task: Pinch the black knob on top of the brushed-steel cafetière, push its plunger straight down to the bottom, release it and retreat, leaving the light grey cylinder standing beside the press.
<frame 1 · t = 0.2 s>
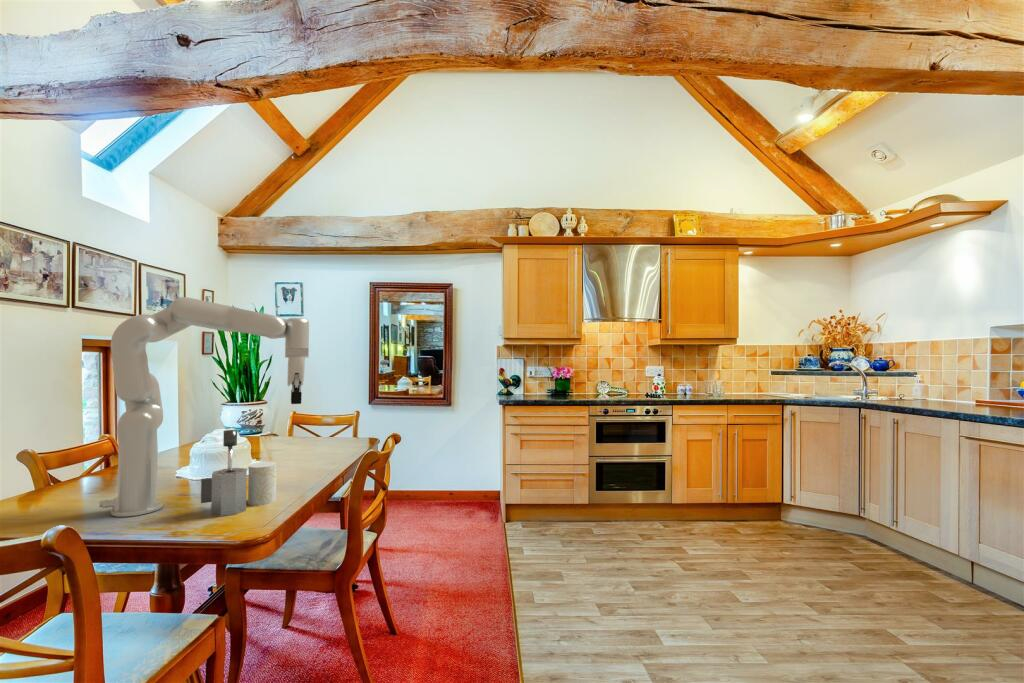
hand: (296, 402, 169), 31 cm above the table, fingers open, 9 cm apart
octagonal faceted vessel: (229, 510, 148), on the table
plunger: (230, 458, 148), point 16 cm above the table, slide at 0.0 cm
light grey cylinder: (262, 502, 157), on the table
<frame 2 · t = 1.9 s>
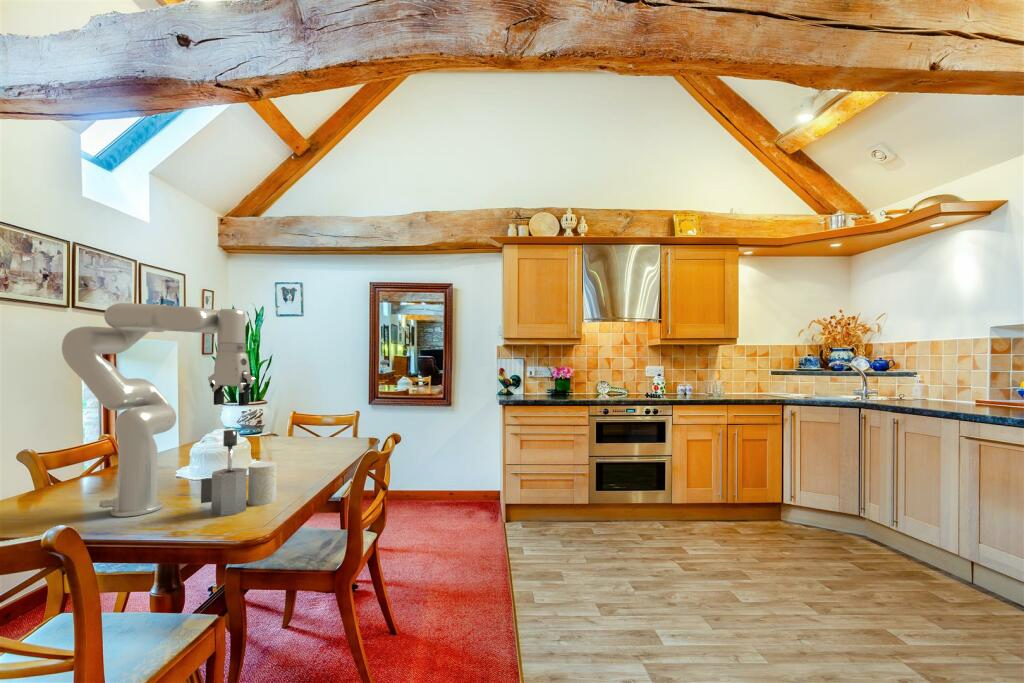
hand: (231, 404, 149), 32 cm above the table, fingers open, 9 cm apart
nothing on the table moved.
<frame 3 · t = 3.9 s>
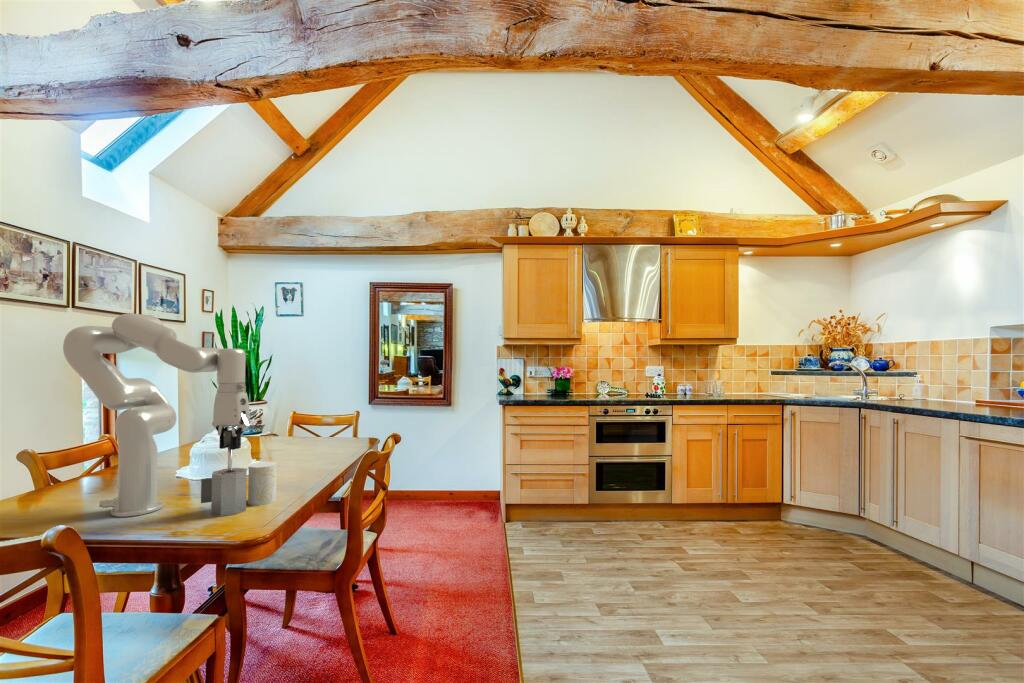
hand: (230, 447, 148), 19 cm above the table, fingers closed on plunger, 3 cm apart
plunger: (229, 458, 148), point 16 cm above the table, slide at 0.0 cm, touching gripper
everything else where it was.
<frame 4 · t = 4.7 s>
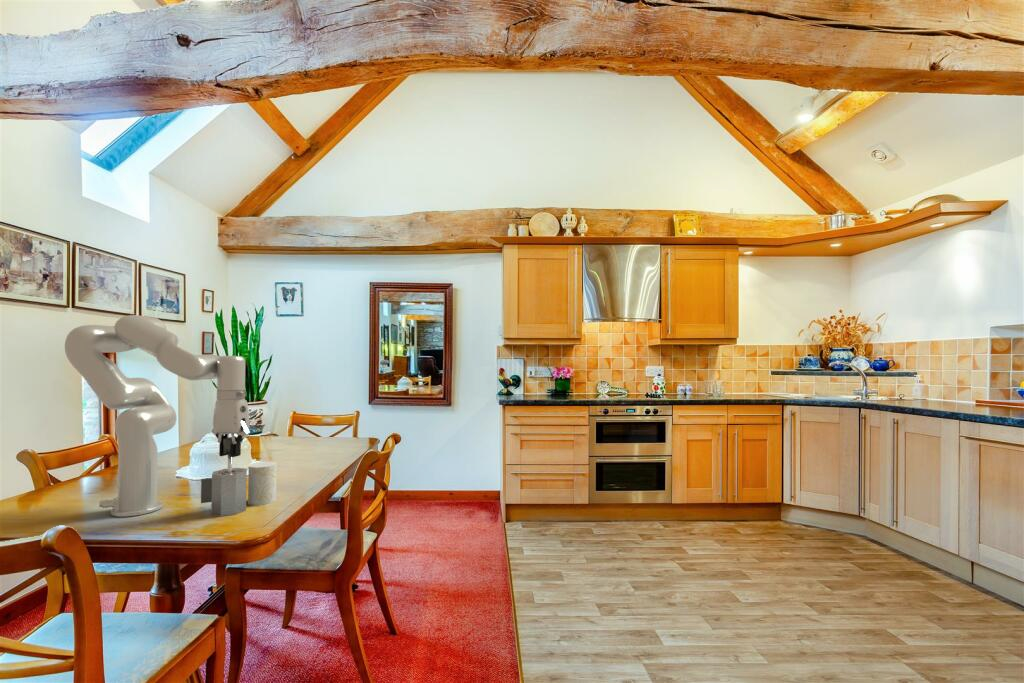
hand: (230, 455, 148), 17 cm above the table, fingers closed on plunger, 3 cm apart
plunger: (229, 465, 148), point 14 cm above the table, slide at 2.3 cm, touching gripper
everything else where it was.
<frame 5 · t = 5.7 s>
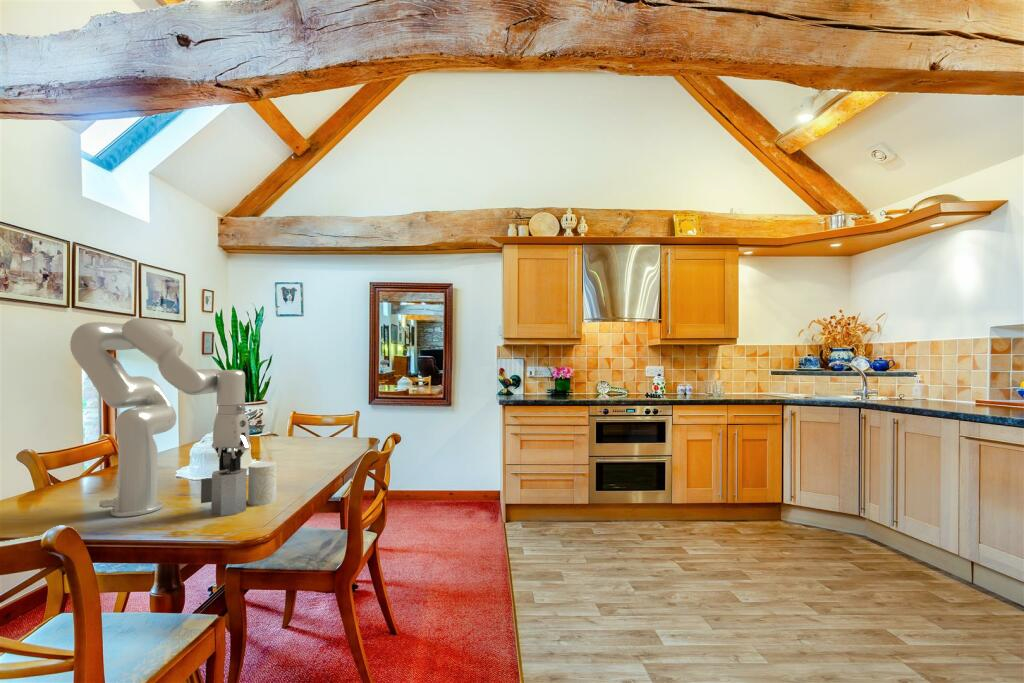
hand: (229, 469, 148), 13 cm above the table, fingers closed on plunger, 3 cm apart
plunger: (229, 480, 148), point 9 cm above the table, slide at 6.7 cm, touching gripper
everything else where it was.
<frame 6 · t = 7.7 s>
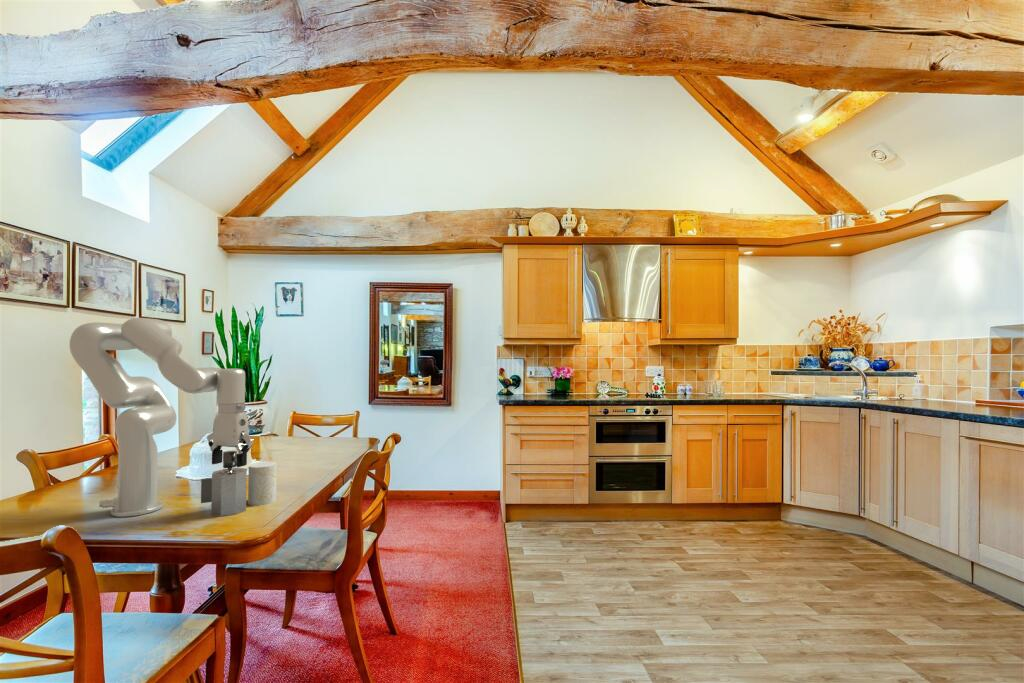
hand: (229, 464, 148), 14 cm above the table, fingers open, 9 cm apart
plunger: (229, 479, 148), point 9 cm above the table, slide at 6.5 cm
everything else where it was.
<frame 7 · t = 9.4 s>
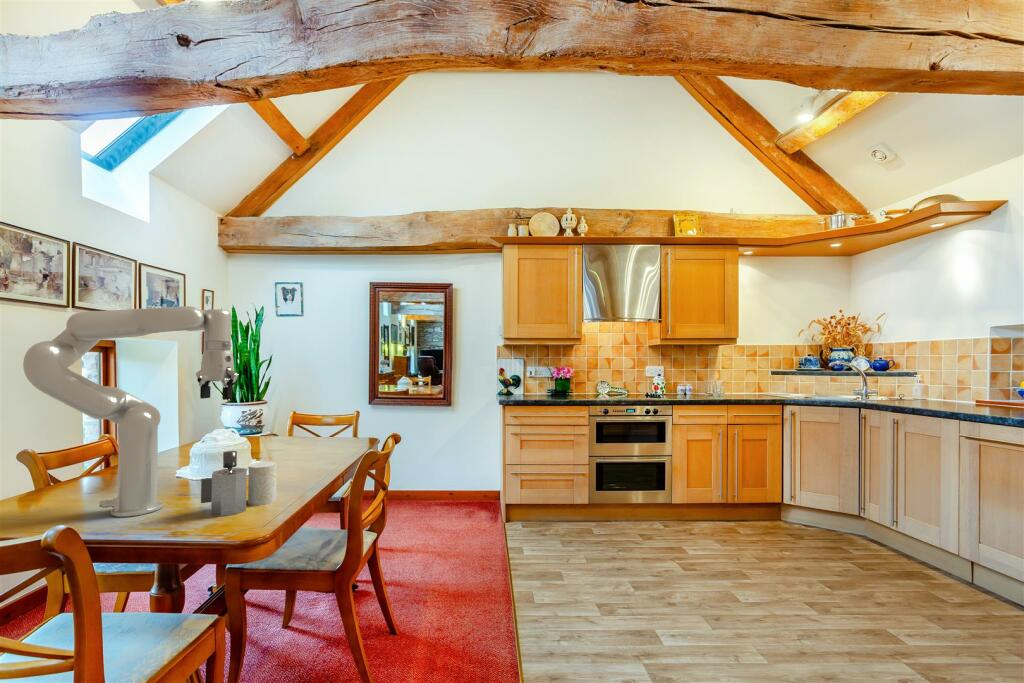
hand: (216, 398, 159), 33 cm above the table, fingers open, 9 cm apart
nothing on the table moved.
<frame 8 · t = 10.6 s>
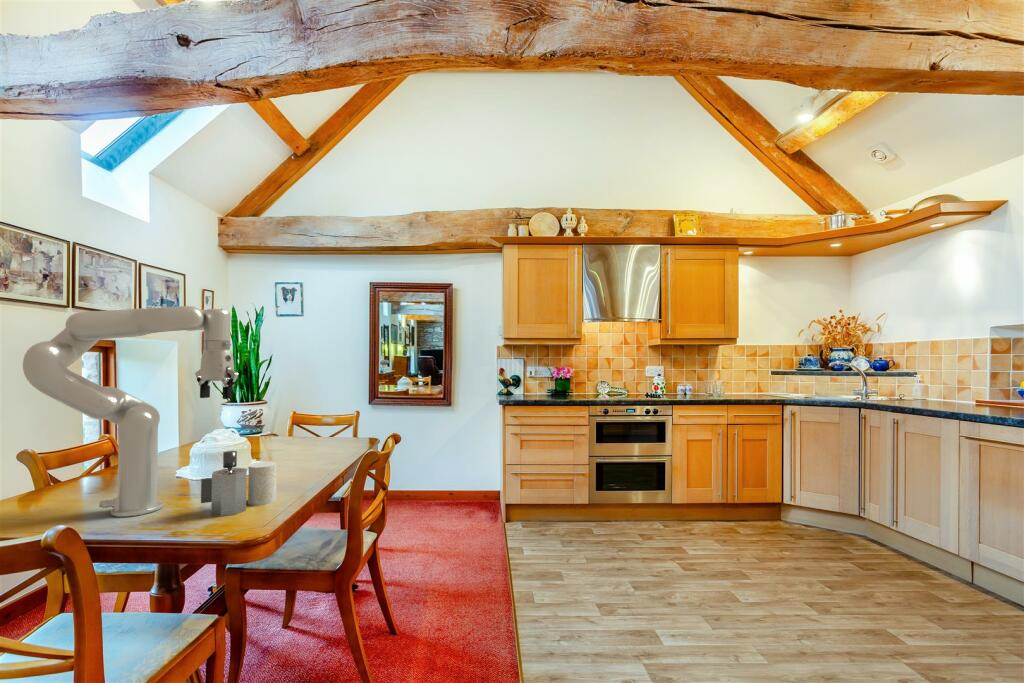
hand: (216, 398, 160), 33 cm above the table, fingers open, 9 cm apart
nothing on the table moved.
at the end: plunger slide at 6.5 cm; the gripper is holding nothing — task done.
